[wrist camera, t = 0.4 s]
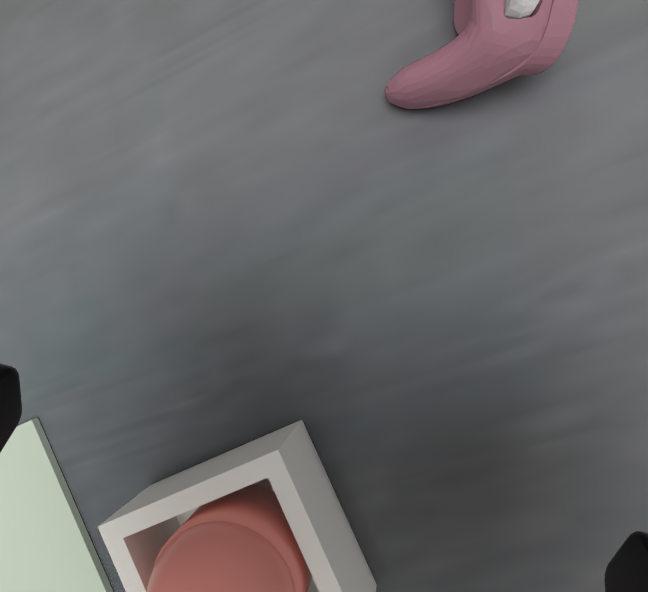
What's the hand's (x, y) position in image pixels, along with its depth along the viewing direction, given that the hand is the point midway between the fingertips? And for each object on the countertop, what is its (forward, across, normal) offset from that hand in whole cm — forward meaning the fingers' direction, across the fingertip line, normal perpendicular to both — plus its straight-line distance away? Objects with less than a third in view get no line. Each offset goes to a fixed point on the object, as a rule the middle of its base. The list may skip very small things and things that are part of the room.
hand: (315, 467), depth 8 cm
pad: (+8, +12, +18) cm, 23 cm away
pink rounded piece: (+8, +1, +13) cm, 15 cm away
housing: (+9, +1, +14) cm, 16 cm away
